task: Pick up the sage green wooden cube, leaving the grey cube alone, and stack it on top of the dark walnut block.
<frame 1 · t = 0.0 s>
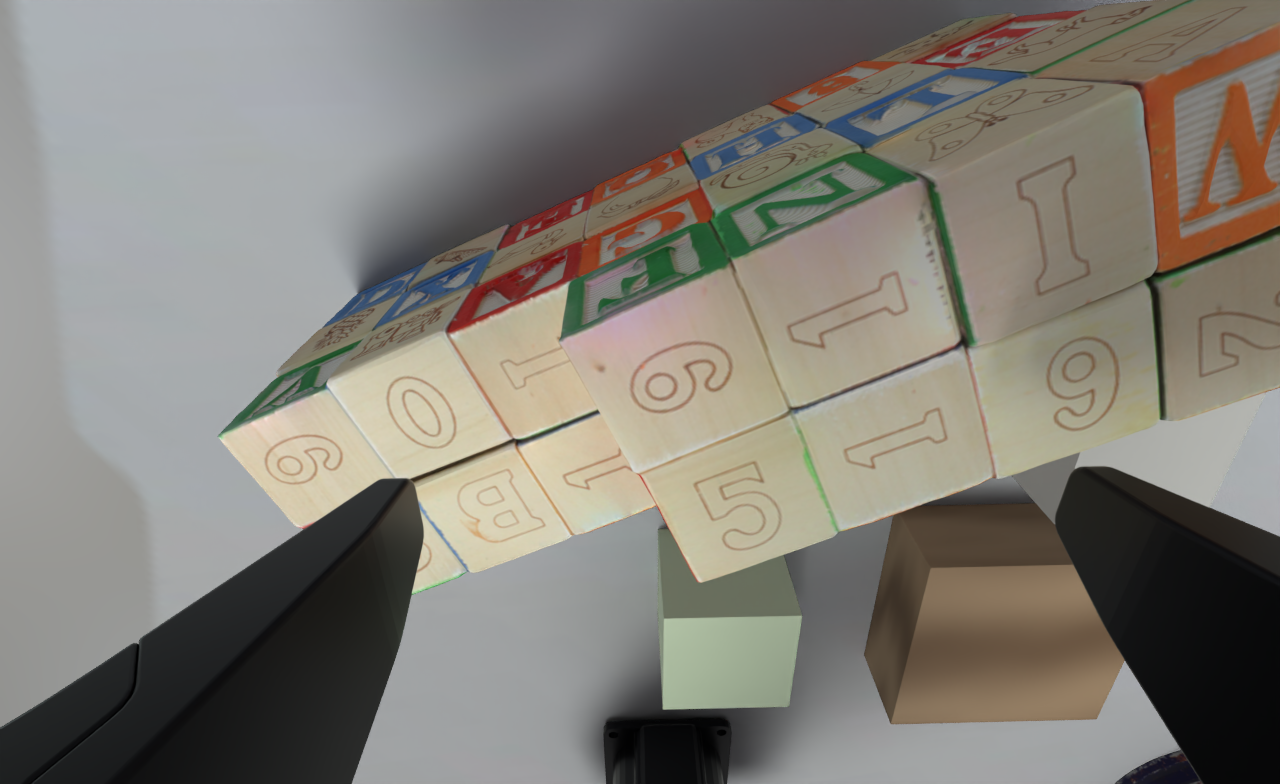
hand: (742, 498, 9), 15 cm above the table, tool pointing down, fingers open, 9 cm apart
grey cube: (1063, 387, 25), on the table
walnut block: (974, 578, 30), on the table
stack of blocks: (671, 248, 23), on the table
sage cube: (713, 570, 29), on the table
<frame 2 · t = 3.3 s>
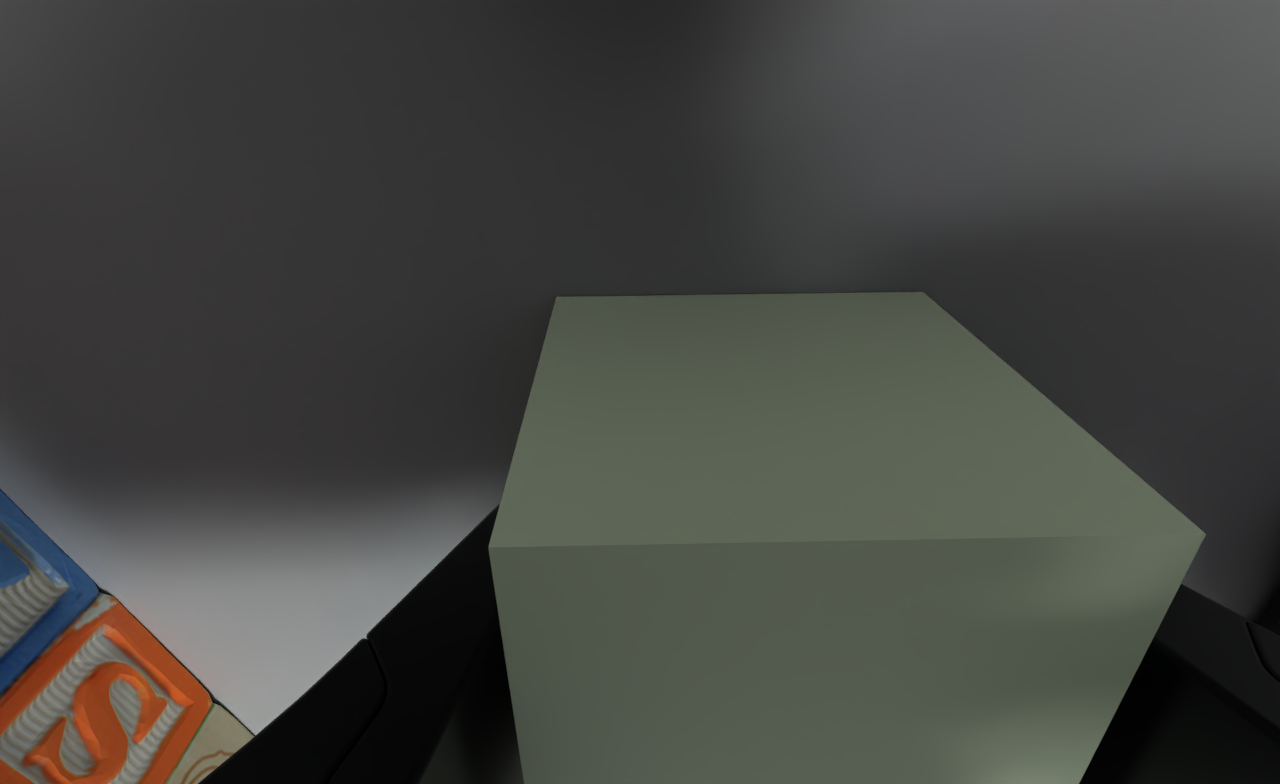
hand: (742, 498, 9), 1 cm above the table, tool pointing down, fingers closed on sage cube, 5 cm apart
sage cube: (729, 448, 10), on the table, touching gripper
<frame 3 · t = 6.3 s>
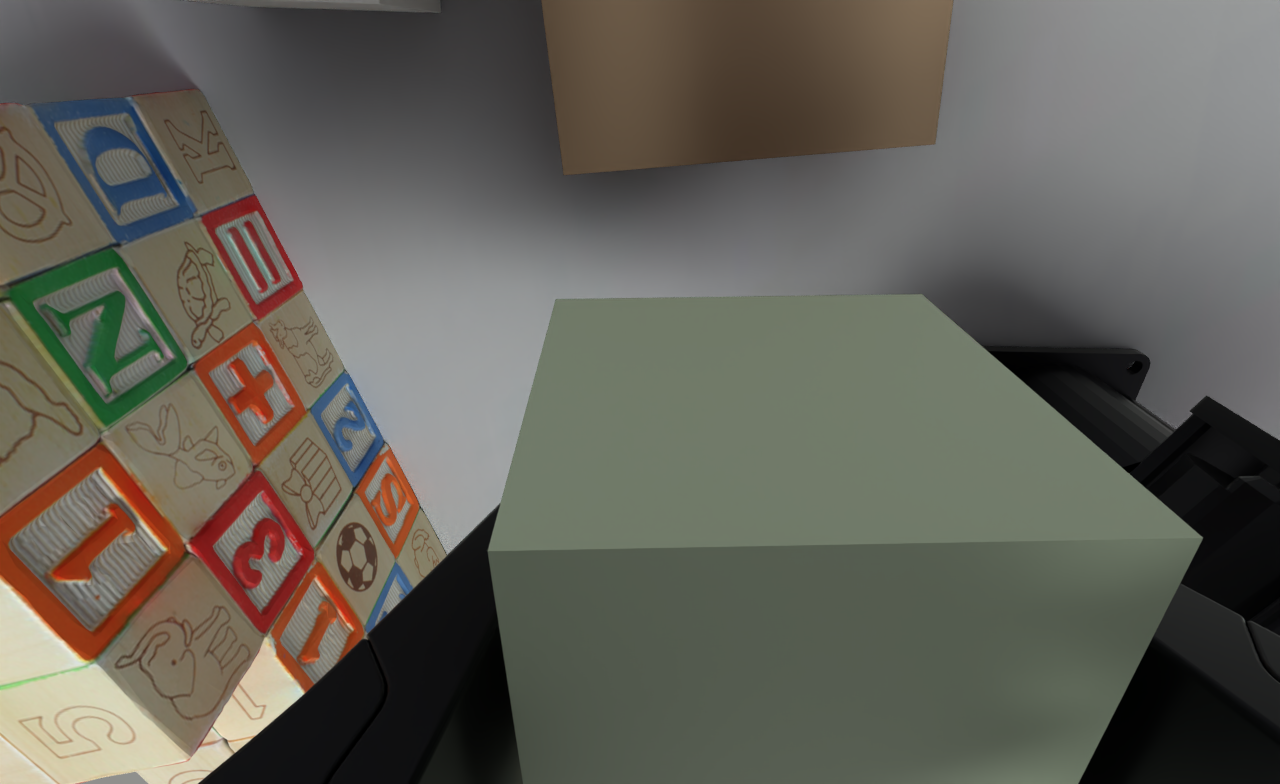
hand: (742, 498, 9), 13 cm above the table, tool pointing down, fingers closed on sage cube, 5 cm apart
stack of blocks: (294, 421, 24), on the table
sage cube: (729, 450, 10), point 12 cm above the table, touching gripper
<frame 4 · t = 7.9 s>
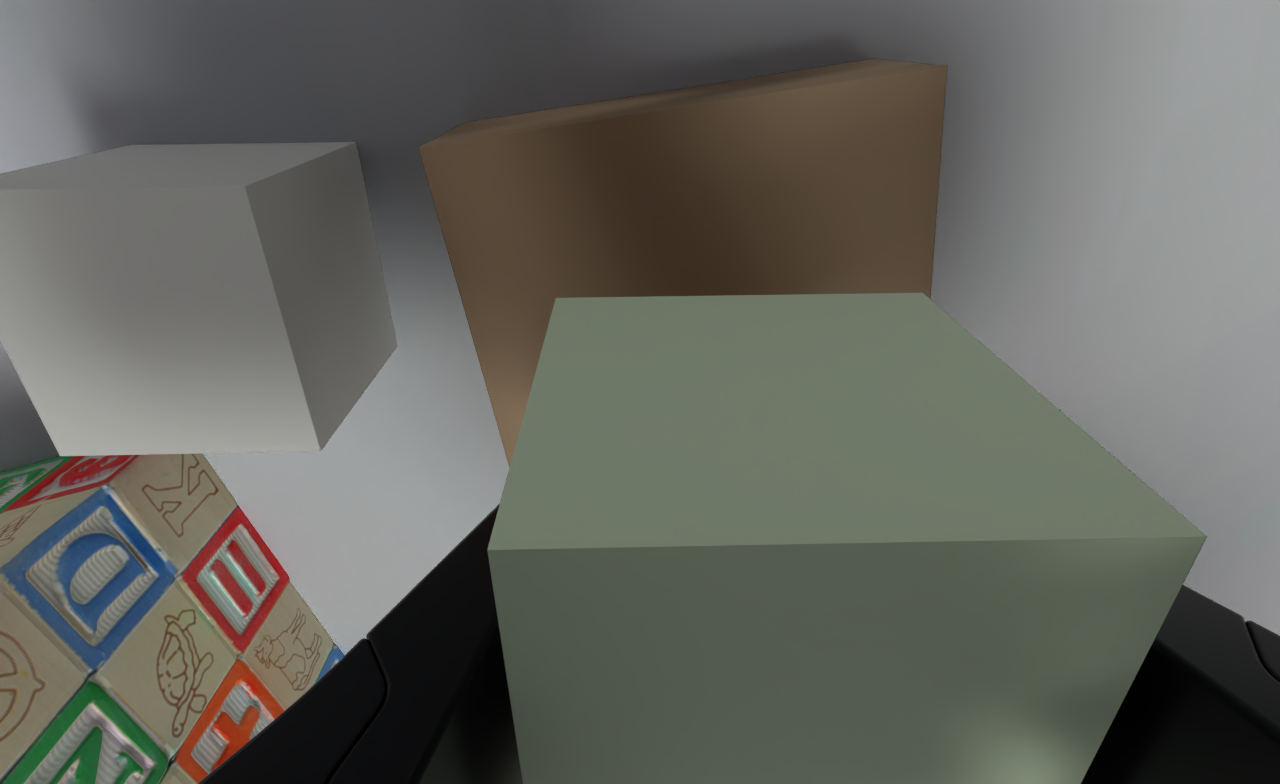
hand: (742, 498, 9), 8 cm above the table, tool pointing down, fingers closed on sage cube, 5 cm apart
grey cube: (275, 252, 16), on the table
walnut block: (686, 282, 17), on the table
stack of blocks: (283, 681, 24), on the table
sage cube: (729, 449, 10), point 7 cm above the table, touching gripper
when the fingers open (6 cm above the table, at t = 9.2 s): sage cube drops 1 cm, resting on walnut block.
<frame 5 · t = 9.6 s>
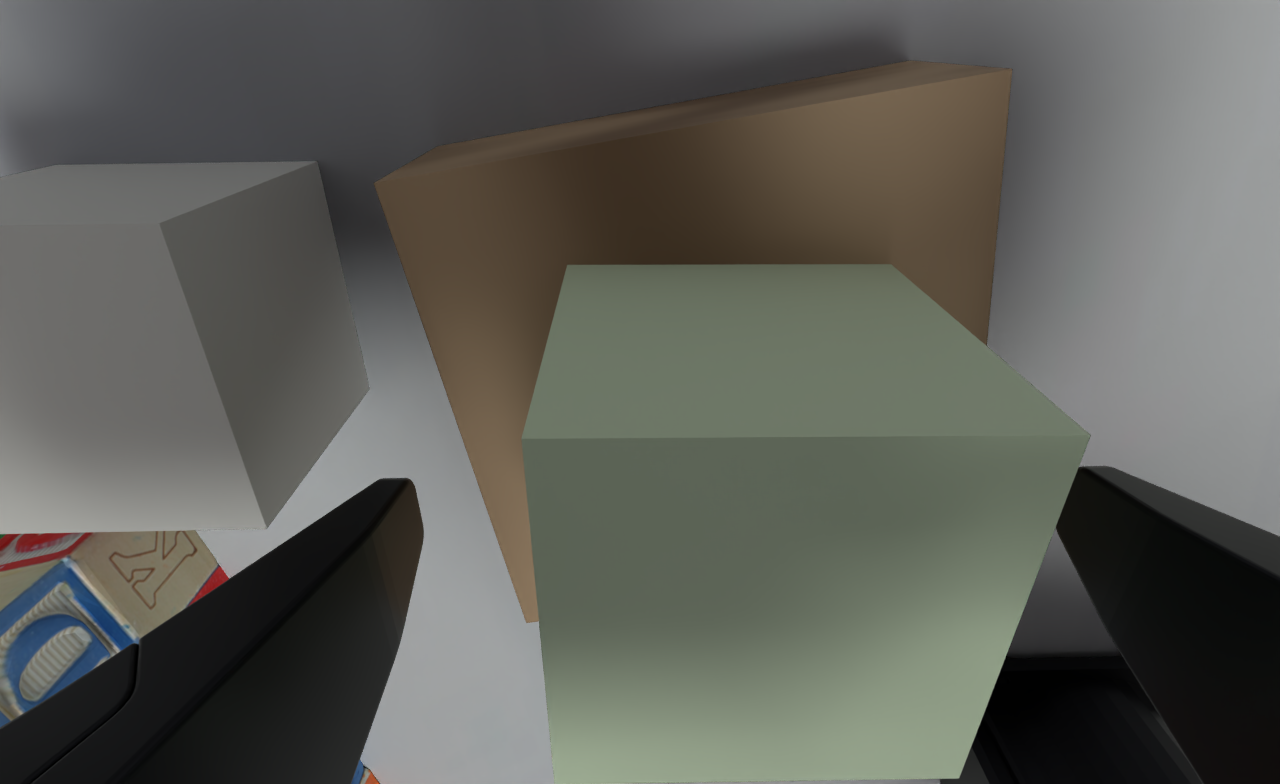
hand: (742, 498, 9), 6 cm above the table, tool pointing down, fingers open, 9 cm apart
grey cube: (229, 285, 14), on the table
walnut block: (696, 317, 15), on the table, touching sage cube
stack of blocks: (264, 744, 22), on the table
sage cube: (719, 405, 11), point 4 cm above the table, touching walnut block
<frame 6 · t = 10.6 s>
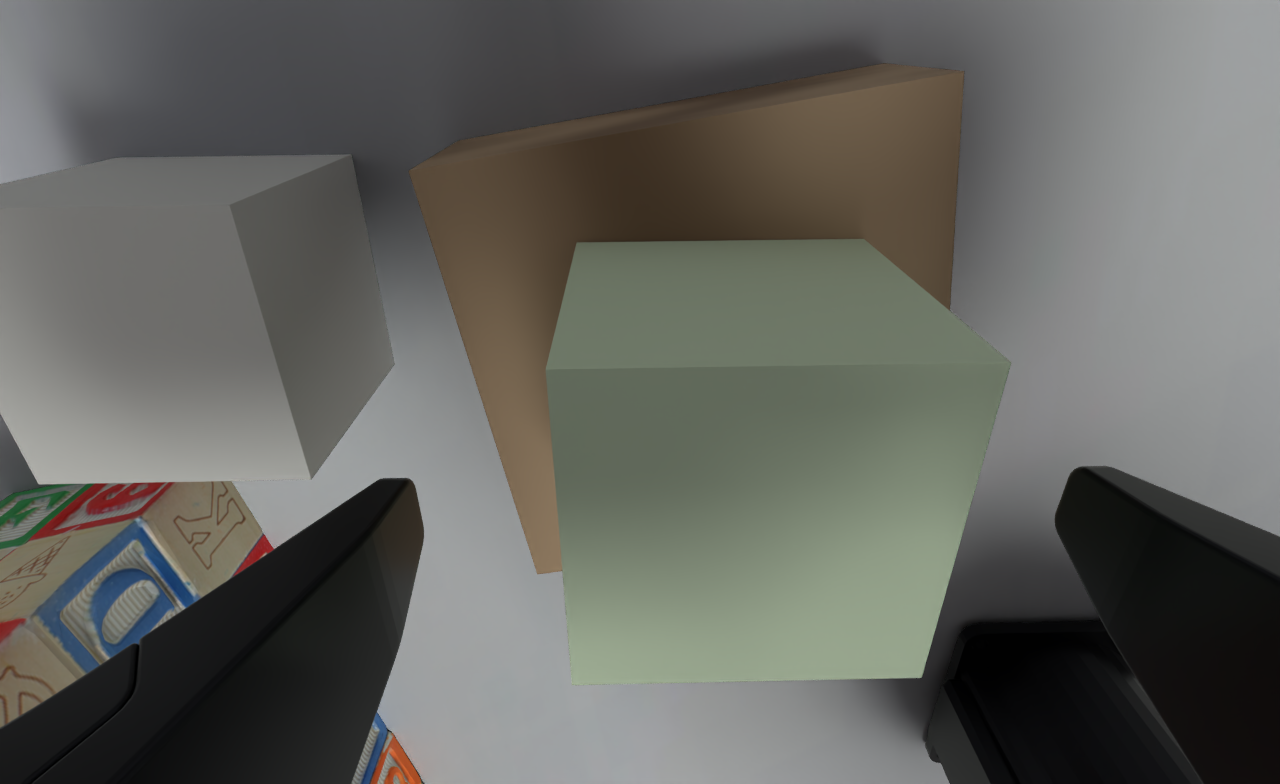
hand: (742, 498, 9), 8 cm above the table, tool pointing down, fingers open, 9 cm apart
grey cube: (268, 267, 15), on the table
walnut block: (692, 298, 16), on the table
stack of blocks: (294, 707, 23), on the table
sage cube: (714, 369, 13), point 4 cm above the table
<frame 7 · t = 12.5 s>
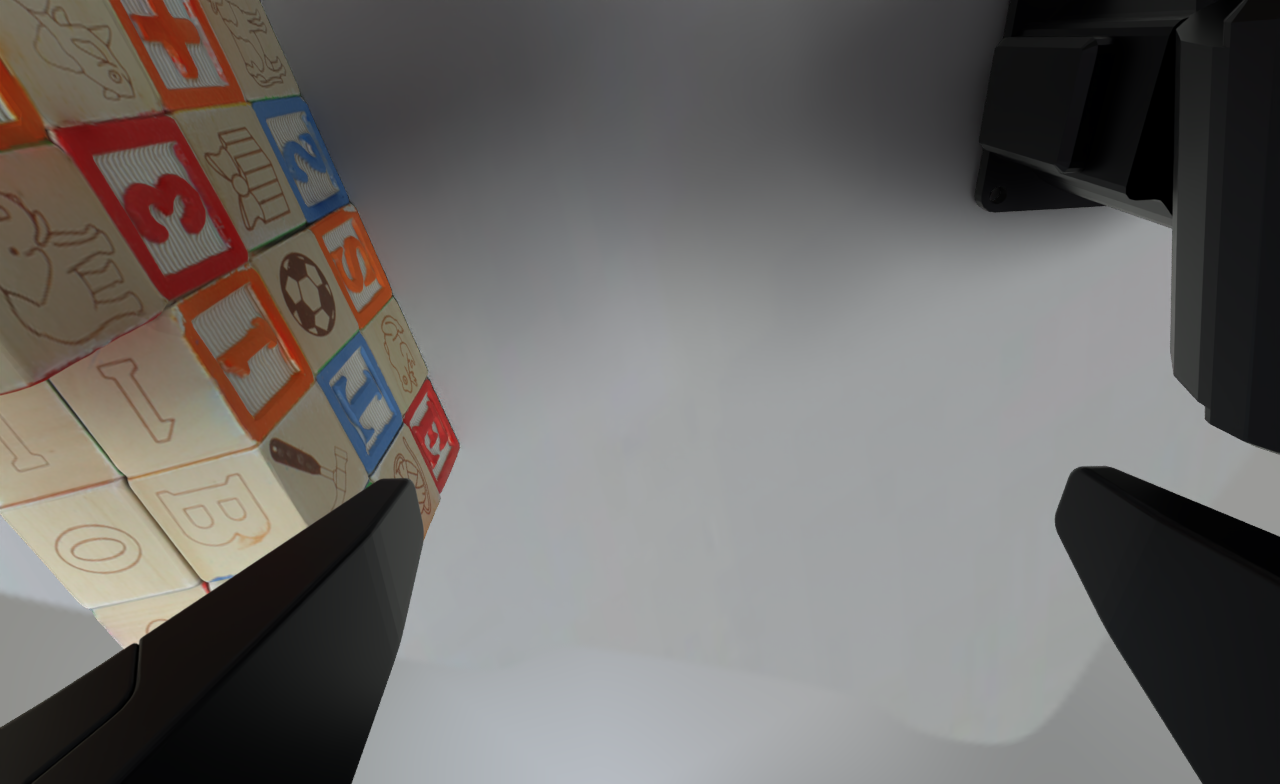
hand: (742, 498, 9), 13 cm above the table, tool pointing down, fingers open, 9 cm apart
stack of blocks: (241, 174, 20), on the table
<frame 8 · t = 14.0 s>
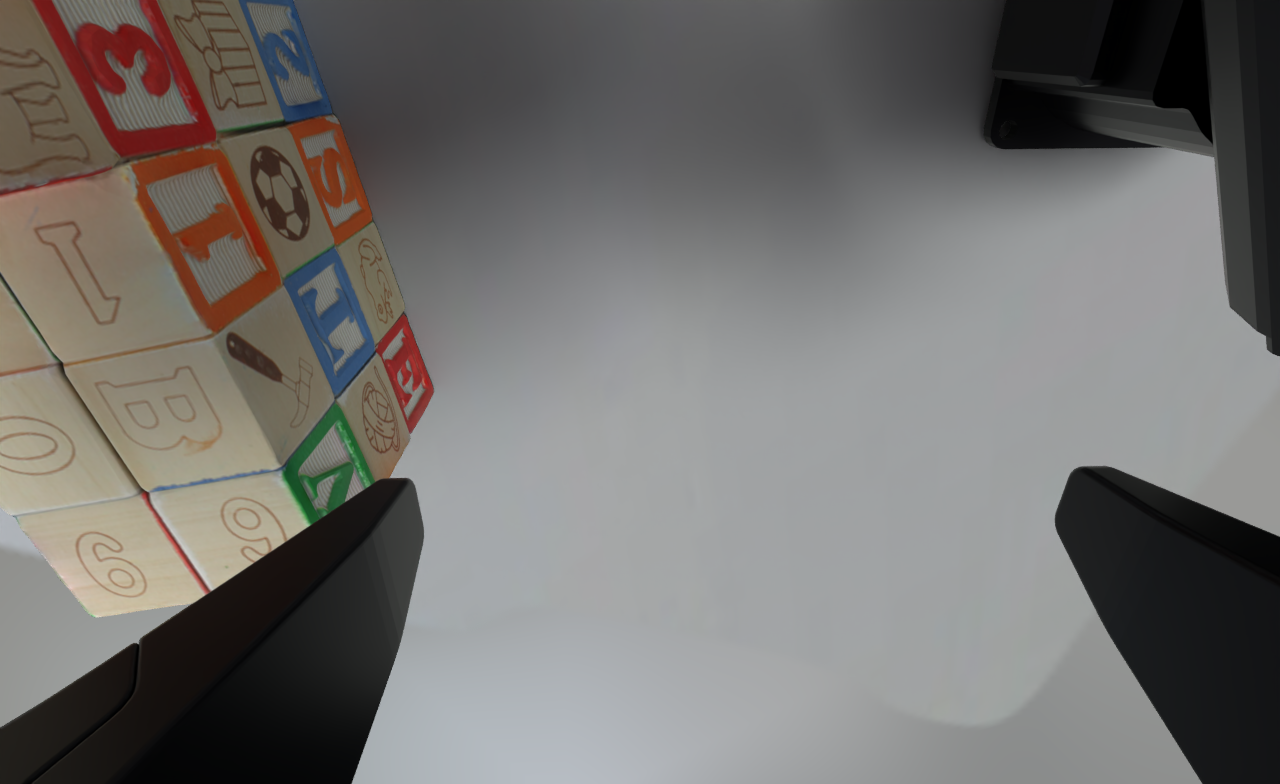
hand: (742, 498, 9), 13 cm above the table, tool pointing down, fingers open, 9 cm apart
stack of blocks: (216, 74, 18), on the table
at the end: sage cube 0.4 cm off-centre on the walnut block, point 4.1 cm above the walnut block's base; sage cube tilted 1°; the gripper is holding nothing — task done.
